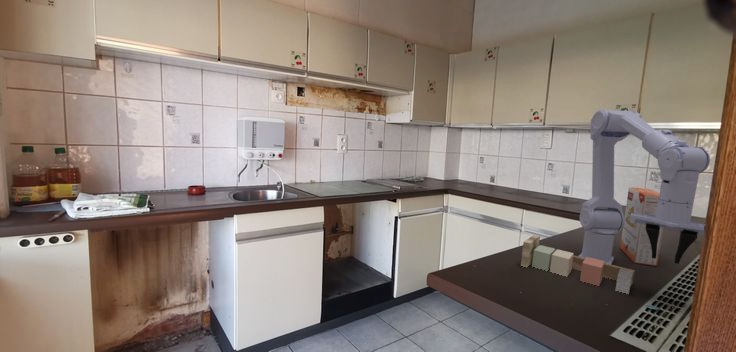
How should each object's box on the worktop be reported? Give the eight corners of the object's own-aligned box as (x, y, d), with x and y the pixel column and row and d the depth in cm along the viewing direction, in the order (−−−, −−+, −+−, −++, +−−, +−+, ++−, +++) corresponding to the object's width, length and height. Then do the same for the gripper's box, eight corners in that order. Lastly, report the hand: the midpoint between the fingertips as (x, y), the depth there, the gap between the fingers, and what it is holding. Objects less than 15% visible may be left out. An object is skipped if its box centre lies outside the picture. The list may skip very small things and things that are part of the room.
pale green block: (537, 261, 96) (539, 245, 96) (553, 265, 94) (555, 248, 93) (531, 267, 92) (533, 250, 91) (547, 271, 89) (549, 254, 89)
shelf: (532, 256, 100) (534, 234, 99) (632, 283, 84) (636, 257, 83) (520, 266, 92) (523, 242, 91) (629, 298, 76) (633, 269, 75)
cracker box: (618, 248, 111) (628, 186, 108) (640, 251, 109) (651, 188, 106) (632, 263, 98) (643, 193, 95) (657, 267, 96) (670, 196, 93)
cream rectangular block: (555, 266, 94) (557, 249, 93) (571, 270, 91) (573, 253, 90) (549, 272, 89) (551, 254, 88) (566, 277, 86) (569, 259, 86)
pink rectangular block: (584, 274, 89) (586, 256, 88) (602, 279, 86) (605, 261, 85) (579, 281, 84) (582, 262, 84) (598, 287, 82) (601, 267, 81)
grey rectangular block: (617, 283, 84) (620, 268, 84) (630, 286, 83) (632, 271, 82) (615, 291, 80) (617, 275, 79) (628, 295, 78) (630, 279, 78)
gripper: (632, 197, 75) (623, 255, 77) (725, 210, 66) (712, 275, 68) (634, 194, 81) (626, 247, 83) (721, 205, 71) (709, 265, 73)
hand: (665, 259), depth 76 cm, fingers open, 3 cm apart
